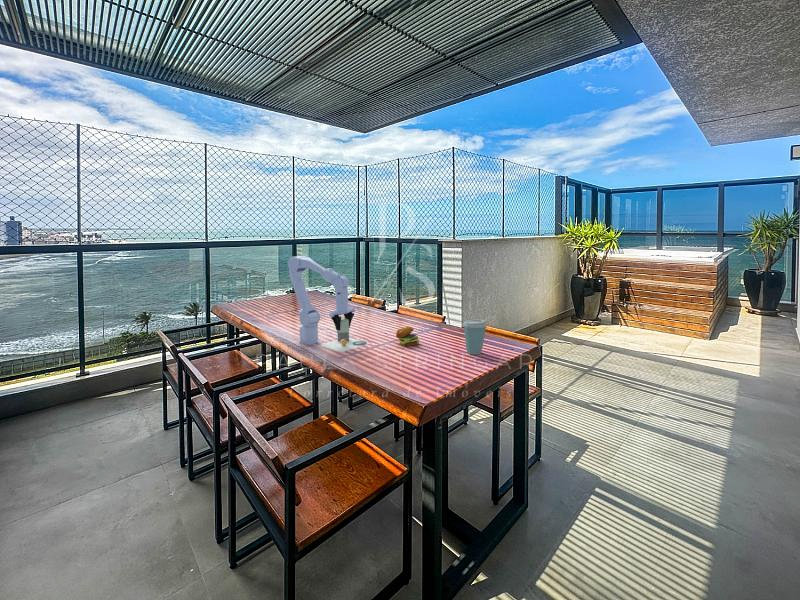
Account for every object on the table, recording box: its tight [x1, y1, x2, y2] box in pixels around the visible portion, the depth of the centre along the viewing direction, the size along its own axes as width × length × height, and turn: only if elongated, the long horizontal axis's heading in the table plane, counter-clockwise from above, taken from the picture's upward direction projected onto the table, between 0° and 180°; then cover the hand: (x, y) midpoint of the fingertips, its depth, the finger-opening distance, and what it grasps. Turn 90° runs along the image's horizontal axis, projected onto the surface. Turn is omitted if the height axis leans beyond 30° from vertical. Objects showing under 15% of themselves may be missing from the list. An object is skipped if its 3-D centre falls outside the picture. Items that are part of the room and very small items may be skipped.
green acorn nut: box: [336, 317, 350, 333], centre depth 183 cm, size 6×6×6 cm
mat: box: [317, 337, 371, 353], centre depth 186 cm, size 18×19×1 cm
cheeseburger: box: [395, 325, 420, 347], centre depth 186 cm, size 10×11×10 cm
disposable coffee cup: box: [462, 319, 487, 356], centre depth 170 cm, size 11×11×15 cm
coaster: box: [353, 340, 368, 346], centre depth 187 cm, size 7×7×1 cm
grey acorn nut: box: [336, 331, 350, 342], centre depth 193 cm, size 6×6×6 cm
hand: (343, 328), depth 183 cm, fingers closed on green acorn nut, 6 cm apart
